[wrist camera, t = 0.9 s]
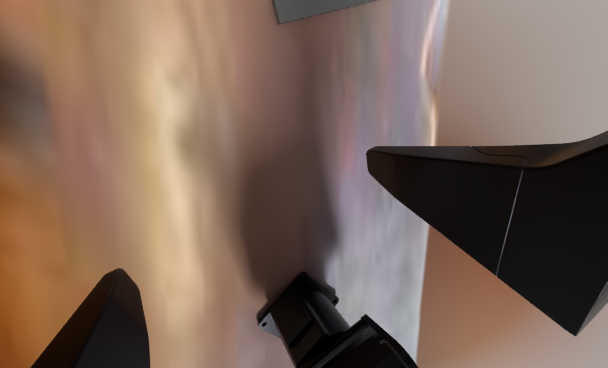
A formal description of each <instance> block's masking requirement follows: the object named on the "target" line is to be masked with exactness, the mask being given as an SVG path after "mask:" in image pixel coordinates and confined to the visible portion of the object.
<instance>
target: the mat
mask: <svg viewBox="0 0 608 368" xmlns="http://www.w3.org/2000/svg"><path fill="white" fill-rule="evenodd" d="M371 1H375V0H272V2H273V6H274V10H275V14H276V18H277V22H278V25H279V24H283V23H287V22H291V21H295V20H299V19H303V18H307V17H311V16H315V15H319V14H323V13H327V12H331V11H335V10H339V9H343V8H347V7H351V6H355V5H359V4H363V3H367V2H371Z"/></svg>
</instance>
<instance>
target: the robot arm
mask: <svg viewBox="0 0 608 368" xmlns="http://www.w3.org/2000/svg"><path fill="white" fill-rule="evenodd" d="M366 156H367V167H368V171H369V173H370V174H371V175H372V176H373V177H374V178H375V179H376V180H377V181H378V182H379V183H380V184H381V185H382V186H383V187H384V188H385V189H386V190H387V191H388V192H389V193H390V194H391V195H393V196H394V197H395V198H396V199H397V200H398V201H400V202H401V203H402V204H404V205H405V206H406V207H407V208H409V209H410V210H411V211H413V212H414V213H415V214H416V215H418V216H419V217H420V218H422V219H423V220H424V221H426V222H427V223H428V224H429V225H431V226H432V227H433V228H435V229H436V230H437V231H438V232H440V233H441V234H442V235H444V236H445V237H446V238H448V239H449V240H450V241H452V242H453V243H454V244H455V245H457V246H458V247H459V248H461V249H462V250H463V251H464V252H466V253H467V254H468V255H470V256H471V257H472V258H473V259H475V260H476V261H477V262H479V263H480V264H482V265H483V266H484V267H485V268H487V269H488V270H489V271H491V272H492V273H493V274H494V275H497V277H498V278H499V279H500V280H502V281H503V282H504V283H506V284H507V285H508V286H509V287H511V288H512V289H513V290H515V291H516V292H517V293H519V294H520V295H521V296H523V297H524V298H525V299H526V300H528V301H529V302H530V303H531V304H533V305H534V306H535V307H537V308H538V309H539V310H541V311H542V312H543V313H544V314H546V315H547V316H548V317H550V318H551V319H552V320H553V321H555V322H556V323H557V324H559V325H560V326H561V327H563V328H564V329H565V330H567V331H568V332H569V333H571V334H573V335H574V336H577V335H578V334H579V333H580V332H581V331H582V330H583V328H584V327H585V326H586V325H587V324H588V323H589V322H590V321H591V320H592V319H593V318H594V317H595V316H596V315H597V313H598V312H599V311H600V310H601V309H602V308H603V307H604V306H605V305H606V304H607V303H608V131H606V132H604V133H601V134H599V135H597V136H594V137H592V138H589V139H586V140H582V141H578V142H573V143H563V144H542V145H518V146H517V145H515V146H472V147H471V146H376V147H373V148H371V149H369V150H368V151H367V153H366ZM302 278H303V279H302ZM338 301H339V298H338V297H337V296H336V295H335V294H333V293H332V292H331V291H329V290H328V289H327V288H325V287H324V286H323V285H321V284H320V283H319V282H317V281H316V280H315V279H313V278H312V277H311V276H310V275H308V274H307V273H305V272H303V273H301V274H299V276H298V277H297V278H296V279H295V280H294V281H293V282H292V283H291V284H290V286H289V287H288V288H287V289H286V290H285V291H284V292H283V293H282V295H281V296H280V297H279V298H278V299H277V300H276V301H275V302H274V304H273V305H272V306H271V307H270V308H269V309H268V310H267V311H266V312H265V314H264V315H263V316H262V317H261V318H260V319H259V321H258V325H259V328H260V329H262V330H264V331H267V332H269V333H271V334H273V335H275V336H277V337H279V338H281V340H282V342H283V344H284V346H285V348H286V350H287V352H288V354H289V356H290V359H291V361H292V363H293V365H294V367H295V368H418V367H417V365H416V364H415V362H414V361H413V359H412V358H411V357H410V355H409V354H408V353H407V352H406V351H405V349H404V348H403V347H402V346H401V345H400V344H399V343H398V342H397V341H396V340H395V339H394V338H393V337H391V336H390V335H389V334H388V333H387V332H386V331H385V330H383V329H382V328H381V327H380V326H379V325H378V324H377V323H375V322H374V321H373V320H372V319H371V318H370V317H369V316H367V315H366V314H365V315H364V316H362V317H361V320H359V321H358V322H357V323H355V324H354V325H353V326H352V327H350V326H349V324H348V323H347V322H346V321H345V319H344V318H343V317H342V315H341V314H340V313H339V312H338V310H337V309H336V308H335V306H336V304H337V303H338ZM31 368H150V353H149V338H148V332H147V326H146V321H145V316H144V311H143V306H142V300H141V295H140V291H139V288H138V287H137V285H136V284H135V283H134V281H133V280H132V279H131V278H130V277H129V275H128V274H127V273H126V272H125V271H124V270H123V269H121V268H118V269H115V270H113V271H111V272H109V273H107V274H105V275H104V276H103V277H102V279H101V280H100V281H99V282H98V284H97V285H96V286H95V287H94V289H93V290H92V291H91V292H90V294H89V295H88V296H87V297H86V299H85V300H84V301H83V302H82V304H81V305H80V306H79V307H78V309H77V310H76V311H75V312H74V314H73V315H72V316H71V318H70V319H69V320H68V321H67V323H66V324H65V325H64V326H63V328H62V329H61V330H60V331H59V333H58V334H57V335H56V336H55V338H54V339H53V340H52V341H51V343H50V344H49V345H48V346H47V348H46V349H45V350H44V351H43V353H42V354H41V355H40V356H39V358H38V359H37V360H36V361H35V363H34V364H33V365H32V366H31Z"/></svg>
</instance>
